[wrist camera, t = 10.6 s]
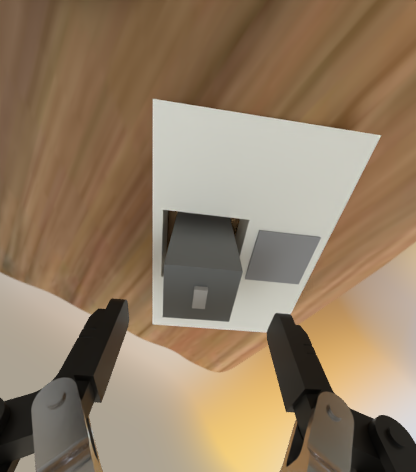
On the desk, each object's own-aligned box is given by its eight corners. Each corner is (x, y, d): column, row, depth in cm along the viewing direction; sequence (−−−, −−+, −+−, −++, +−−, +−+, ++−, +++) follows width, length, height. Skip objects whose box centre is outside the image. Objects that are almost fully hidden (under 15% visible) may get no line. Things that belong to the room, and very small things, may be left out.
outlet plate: (161, 100, 14) (152, 98, 12) (351, 131, 16) (383, 135, 13) (157, 301, 25) (152, 325, 22) (272, 311, 26) (281, 335, 23)
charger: (178, 207, 19) (162, 267, 11) (228, 213, 19) (243, 274, 12) (176, 249, 21) (161, 320, 14) (220, 253, 21) (229, 325, 14)
